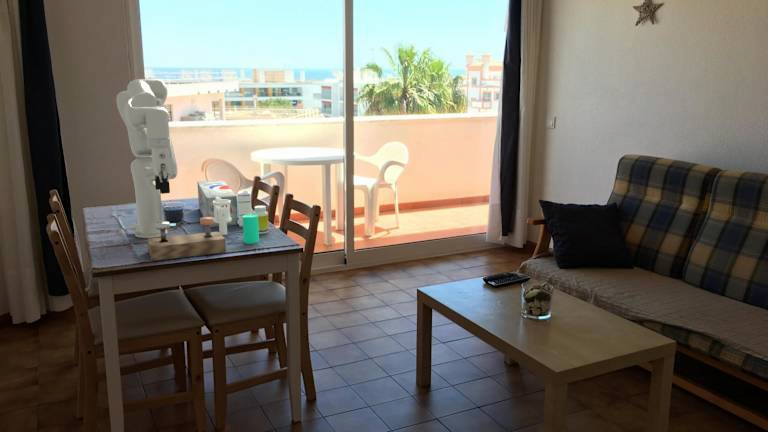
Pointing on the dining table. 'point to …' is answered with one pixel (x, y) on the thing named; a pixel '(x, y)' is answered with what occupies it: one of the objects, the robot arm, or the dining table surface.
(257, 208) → the pill bottle
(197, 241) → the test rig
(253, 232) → the candle
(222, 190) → the soda pack
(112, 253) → the dining table surface
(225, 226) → the white cylindrical holder
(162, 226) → the silver oval piece
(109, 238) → the dining table surface
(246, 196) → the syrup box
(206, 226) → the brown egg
